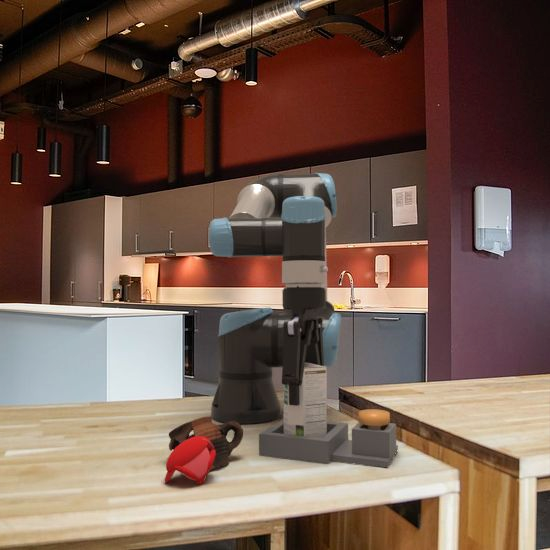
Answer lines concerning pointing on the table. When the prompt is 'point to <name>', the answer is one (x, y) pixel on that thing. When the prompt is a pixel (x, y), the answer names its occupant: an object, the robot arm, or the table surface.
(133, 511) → the table surface
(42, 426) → the table surface
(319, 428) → the syrup box
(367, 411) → the plunger
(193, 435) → the pottery mug
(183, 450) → the cap
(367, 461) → the grey rectangular open-box piece
